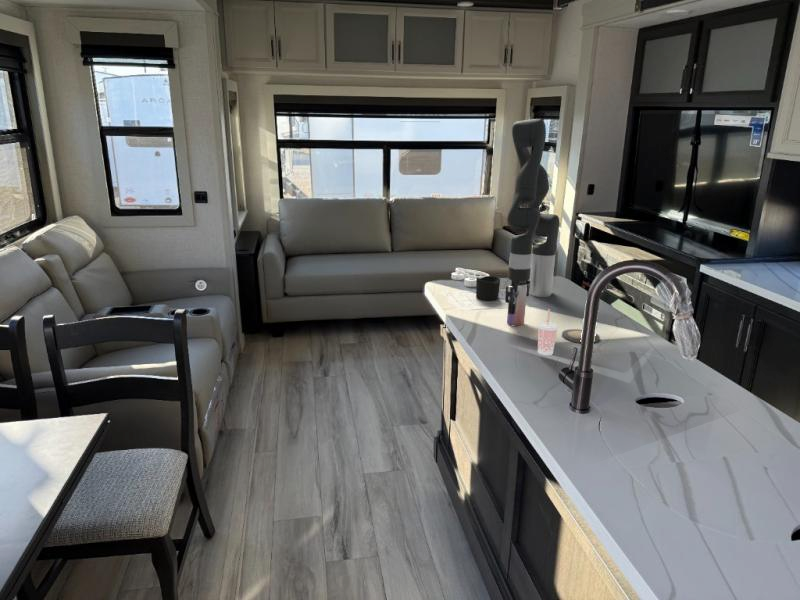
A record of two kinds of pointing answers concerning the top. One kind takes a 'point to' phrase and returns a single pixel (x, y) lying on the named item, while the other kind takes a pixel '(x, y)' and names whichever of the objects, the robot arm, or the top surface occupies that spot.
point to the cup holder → (468, 276)
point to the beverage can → (518, 307)
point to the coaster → (575, 335)
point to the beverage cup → (546, 336)
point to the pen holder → (487, 288)
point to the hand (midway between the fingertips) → (516, 311)
